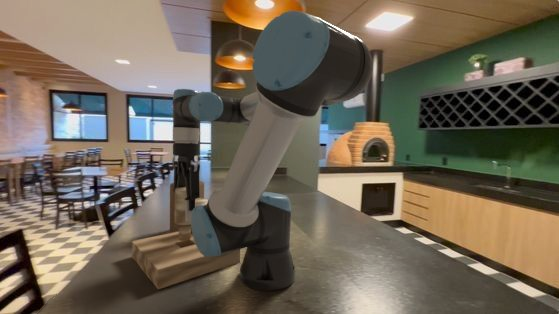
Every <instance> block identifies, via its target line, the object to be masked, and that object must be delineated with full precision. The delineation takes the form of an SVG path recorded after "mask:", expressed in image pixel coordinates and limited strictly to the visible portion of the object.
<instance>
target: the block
mask: <svg viewBox="0 0 559 314" xmlns="http://www.w3.org/2000/svg"><path fill="white" fill-rule="evenodd" d="M173 190H174V182H172V183H170V184H169V233H173V232H178V231H179V227H176V226H175V225H174V221H175V192H174V191H173ZM199 193H200V197H199V198H203V199H205V182H204V181H201V180H199ZM196 199H197V198H196Z"/></svg>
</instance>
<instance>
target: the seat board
mask: <svg viewBox="0 0 559 314" xmlns="http://www.w3.org/2000/svg"><path fill="white" fill-rule="evenodd" d="M208 200H209V199H207V198H204V199H203V198H197V199H196V207H197V206H199V205H202V206H203V205H206V204H207V203H208ZM131 258H132V259H133V260H134V262H136V264H137V265H138V266H139V267H140V269H141V270H142V272H143V273H144V274H145V275H146V276H147V278H148V279H149V280H150V281H151V283H152V284H153V285H154V287H156V289H157V290H160V289H163V288H166V287H170V286H172V285H175V284H179V283H182V282H184V281H188V280H191V279H194V278H196V277H199V276H203V275H205V274H209V273H211V272H215V271H217V270H220V269H221V270H222V269H223V268H227V267H229V266H233V265H235V264H238V263H240V262H241V249H239V250H236V251H232V252H229V253H226V254H222V255H221V256H213V257H205V256H204V255H202V254H201V253H200V251H199V250H198V248H197V246H196V244H195V241H194V238H193V234H192V228H191V236H190V240H187V241H180V240H179V231H178V232H173V233H170V232H169V233H165V234H160V235H156V236H151V237H145V238H140V239H134V240H131Z"/></svg>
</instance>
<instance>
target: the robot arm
mask: <svg viewBox="0 0 559 314" xmlns="http://www.w3.org/2000/svg"><path fill="white" fill-rule="evenodd" d="M252 59H253V60H254V61H253V62H252V65H251V66H252V72H253V76H254V78H255V80H256V84H255V90H256V91H254V92H253V93H252V92H251V93H250V94H248V95H246V96H242V97H240V98H239V97H238V98H236V97H228V96H223V95H218V94H216V93H215V92H213V91H201V92H199V91H197V90H196V89H195V90H194V89H190V88H177V89H175V90H174V92H173V95H172V96H173V97H172V141H173V143H172V155H173V156H177V160H175V161H173V183H174V190H173V191H174V192H175V188H179V187H186V193H187V198H185V200H186V205H185V221H186V222H189V221H191V228H192V234H193V238H194V241H195V244H196V246H197V248H198V250H199V251H200V253H201V254H202V255H204V256H205V257H213V256H221V255H222V254H226V253H229V252H232V251H236V250H239V249H240V250H241V249H245V250H246V251H245V254H244V256H243V260H242V263H241V265H240V267H239V268H240V269H239V279H240V282H241V283H242V284H243V285H244V286H246V287H247V288H250V289H253V290H256V291H262V292H263V291H266V292H270V291H278V290H279V291H280V290H282V289H285V288H287V287H290V286H291V285H292V284H293V283H294V282H295V280H296V267H295V265H294V262H293V257H292V254H291V250H290V245H291V244H290V241H291V240H290V238H291V221H292V219H291V216H292V209H291V204H292V203H291V200H290V198H289V197H288V196H287V195H284V194H281V193H276V192H270V191H266V189H267V187H268V185H269V183H270V181H271V180H272V178H273V176H274V174H275V172H276V170H277V168H278V166H279V165H280V163H281V161H282V159H283V157H284V155H285V154H286V153H287V150H288V148H289V146H290V145H291V143H292V141H293V139H294V137H295V135H296V134H297V131H298V129H299V128H300V126H301V125H302V122H303V121H304V120H309V119H312V118H314V117H316V115H317V113H318V112H319V109H320V108H321V107H327V106H331V105H335V104H338V103H343V102H347V101H350V100H352V99H355V98H356V97H358V96H359V95H360V94H362V92H363V91H364V90H365V89H366V88H367V86H368V85H369V83H370V81H371V78H372V74H373V71H374V70H373V69H374V68H373V67H374V61H373V56H372V54H371V50H370V49H369V48H368V46H367V45H366V43H365V41H363V40H362V39H361V38H360V37H357V36H355V35H353V34H351V33H349V32H346V31H344V30H342V29H340V28H339V27H337V26H334V25H332V24H331V23H329V22H327V21H325V20H323V19H322V18H321V17H318V16H315V15H313V14H309V13H306V12H303V11H300V10H288V11H285V12H282V13H281V14H280V15H278V16H275V17H274V18H273V19H272V20H270V21H269V22H267V24H266V26H265V27H264V28H263V30H262V31H261V33H260V35H259V36H258V38H257V40H256V42H255V46H254V49H253V54H252ZM200 122H201V123H202V122H203V123H204V122H205V123H218V124H219V123H220V124H231V125H233V124H234V125H243V126H247V128H246V130H245V132H244V135H243V137H242V139H241V141H240V143H239V146H238V148H237V151H236V153H235V155H234V158H233V160H232V162H231V165H230V166H229V169H228V171H227V175H226V176H225V179H224V181H223V184H222V185H221V187H220V188H217V189H215V190H214V191H213V192H211V194H210V196H209V199H207V200H208V203H207V204H206V205H203V206H202V205H199V206H197V207H195V199H196V198H199V197H200V193H199V181H200V169H201V164H200V163H196V160H195V157H197V156H200V144H199V143H198V142H199V141H200V135H201V132H200V127H201V126H200Z"/></svg>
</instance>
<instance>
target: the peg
mask: <svg viewBox="0 0 559 314" xmlns="http://www.w3.org/2000/svg"><path fill="white" fill-rule="evenodd" d="M185 198H187V193H186V187H179V188H175V221H174V225H175V226H176V227H179V240H180V241H187V240H190V236H191V221H189V222H186V221H185V205H186V200H185ZM195 207H196V199H195Z"/></svg>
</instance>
